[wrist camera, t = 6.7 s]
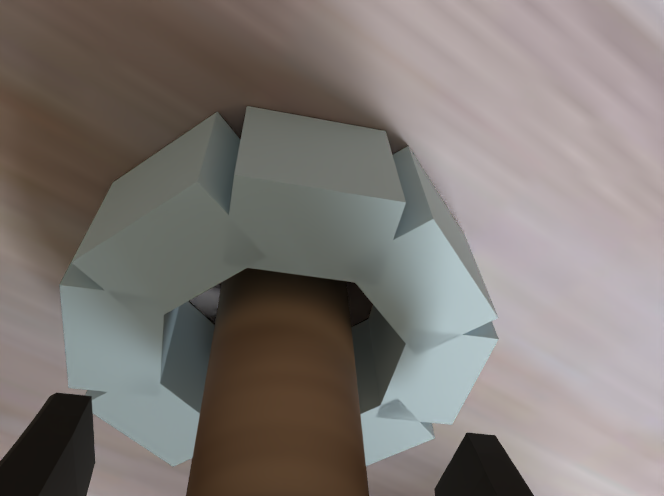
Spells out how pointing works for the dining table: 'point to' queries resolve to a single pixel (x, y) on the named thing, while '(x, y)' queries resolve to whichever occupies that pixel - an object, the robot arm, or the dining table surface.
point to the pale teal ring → (280, 256)
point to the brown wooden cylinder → (280, 392)
